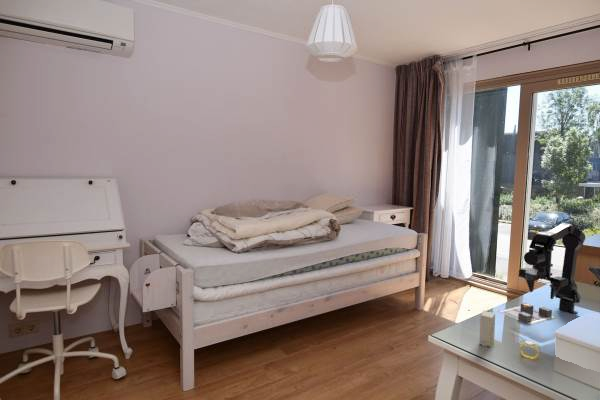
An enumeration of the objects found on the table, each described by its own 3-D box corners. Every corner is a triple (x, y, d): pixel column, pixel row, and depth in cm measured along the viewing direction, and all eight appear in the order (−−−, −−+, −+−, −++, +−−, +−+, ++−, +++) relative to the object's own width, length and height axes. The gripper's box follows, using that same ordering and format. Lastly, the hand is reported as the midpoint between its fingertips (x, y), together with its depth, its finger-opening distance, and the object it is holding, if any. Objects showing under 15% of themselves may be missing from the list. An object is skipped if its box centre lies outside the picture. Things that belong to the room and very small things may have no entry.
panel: (523, 307, 182) (523, 299, 182) (556, 320, 168) (557, 311, 167) (497, 313, 175) (498, 305, 175) (530, 327, 161) (530, 318, 160)
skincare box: (491, 348, 144) (492, 318, 142) (478, 344, 146) (480, 315, 145) (494, 341, 149) (495, 312, 147) (482, 338, 151) (483, 310, 150)
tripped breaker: (524, 311, 174) (525, 302, 173) (532, 315, 170) (533, 305, 170) (520, 312, 173) (520, 303, 172) (528, 316, 169) (529, 306, 168)
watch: (519, 357, 137) (518, 342, 137) (520, 354, 139) (520, 339, 139) (538, 361, 134) (538, 345, 133) (539, 358, 136) (538, 342, 135)
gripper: (511, 258, 168) (509, 291, 170) (552, 269, 151) (550, 306, 152) (527, 255, 172) (526, 287, 174) (570, 265, 155) (567, 301, 157)
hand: (541, 295), depth 164 cm, fingers open, 9 cm apart
